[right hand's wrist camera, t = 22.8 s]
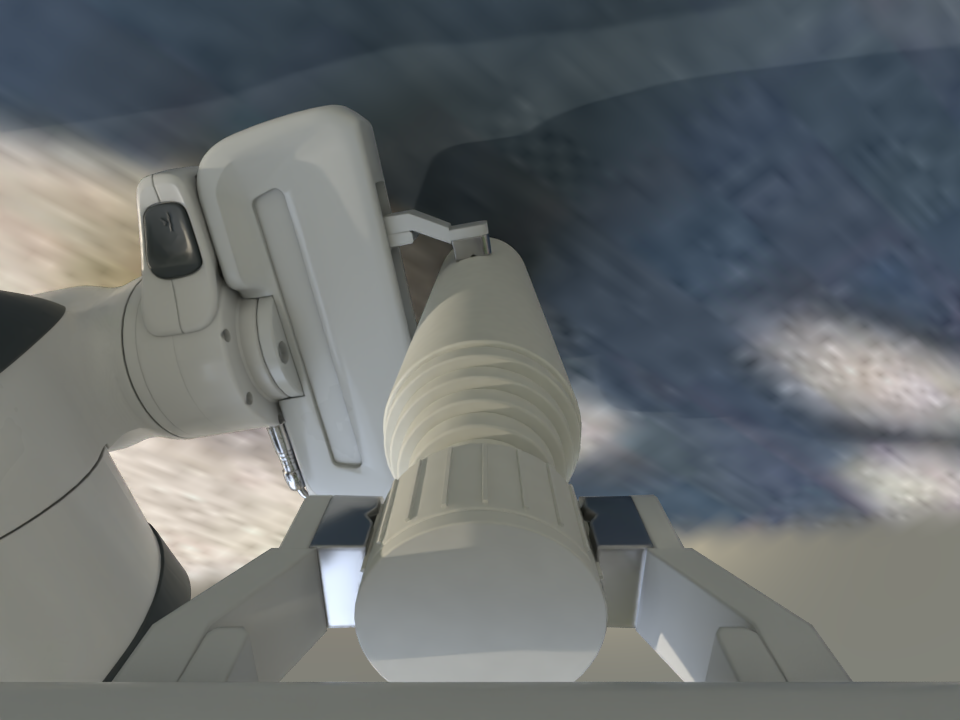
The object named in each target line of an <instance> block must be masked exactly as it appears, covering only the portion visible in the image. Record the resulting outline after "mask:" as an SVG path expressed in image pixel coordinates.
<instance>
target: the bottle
mask: <svg viewBox="0 0 960 720" xmlns="http://www.w3.org/2000/svg"><path fill="white" fill-rule="evenodd" d="M490 244H491V251H492V253H491V254H489V255H486V256H476V255H472V256H471V257H470V258H467V259H463V260H457V261H456V260H455V255H454V251H453V249H452V250H451V252H450V253H449V254H448V255H447V257H446V258H445V260H444V262H443V264H442V266H441V269H440V271H439V274H438V276H437V279H436V281H435V284H434V286H433V289H432V291H431V294H430V296H429V299H428V301H427V304H426V306H425V309H424V311H423V314H422V316H421V318H420V321H419V323H418V326H417V328H416V331H415V333H414V336H413V338H412V341H411V343H410V346H409V348H408V351H407V353H406V356H405V358H404V361H403V363H402V366H401V368H400V371H399V373H398V376H397V378H396V381H395V383H394V386H393V388H392V391H391V393H390V396H389V398H388V401H387V404H386V408H385V413H384V419H383V433H384V449H385V456H386V459H387V463H388V466H389V468H390V471H391V473H392V475H393V477H394V479H397V480H398V478H399V477H400V476H401V475H402V474H403V473H404V472H405V471H406V470H408V469H409V468H410V467H411V466H413V465H414V464H415V463H416V462H417V460H419V459H423V458H425V457H427V456H429V455H430V454H433V453H435V452H438V451H441V450H443V449H446V448H448V447H451V446H452V447H454V446H458V445H463V444H483V443H488V444H498V445H504V446H508V447H512V448H516V449H521V450H522V451H524V452H527V453H529V454H532V455H533V456H536V457H537V458H539V459H541V460H542V461H544V462H545V463H549V464H551V466H552V468H553V469H554V470H556V471H557V472H558V473H559V474H560V475H561V476H562V477H563V478H564V480H565V481H566V482H567V483H568V482H569V480H570V478H571V476H572V474H573V472H574V470H575V467H576V464H577V461H578V457H579V452H580V439H581V416H580V410H579V407H578V403H577V400H576V397H575V395H574V392H573V389H572V387H571V384H570V382H569V379H568V376H567V374H566V371H565V369H564V366H563V363H562V361H561V358H560V355H559V353H558V350H557V348H556V345H555V342H554V340H553V337H552V335H551V332H550V329H549V327H548V324H547V321H546V319H545V316H544V314H543V311H542V308H541V306H540V303H539V301H538V298H537V295H536V293H535V290H534V288H533V285H532V282H531V280H530V277H529V274H528V272H527V269H526V267H525V264H524V262H523V260H522V258H521V257H520V255H519V254H518V253H517V251H515V250H514V249H513V248H512V247H511V246H510V245H508V244H507V243H505V242H503V241H501V240H498V239H495V238H491V237H490Z"/></svg>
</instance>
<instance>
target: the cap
mask: <svg viewBox="0 0 960 720" xmlns="http://www.w3.org/2000/svg"><path fill="white" fill-rule="evenodd" d="M373 527H374V531H373V535H372V538H371V541H370V545H369V548H368V551H367V555H366V556H365V557H364V560H363V563H362V567H361V570H360V572H363V576H362V580H361V583H360V587H359V590H358V594H357V598H356V602H355V612H354V621H355V629H356V633H357V637H358V640H359V643H360V646H361V648H362V650H363V652H364V654H365V656H366V657H367V659H368V660H369V662H370V663H371V664H372V666H373V667H374V668H375V669H376V670H377V671H378V672H379V674H380V675H381V676H382V677H384V678H385V679H386V680H387V681H388V682H574V681H575V680H577V679H578V678H579V677H580V676H581V675H582V674H583V673H584V672H585V671H586V670H587V669H588V667H589V666H590V665H591V664H592V662H593V661H594V659H595V657H596V656H597V654H598V652H599V650H600V648H601V646H602V644H603V640H604V637H605V633H606V628H607V619H608V615H607V604H606V600H605V596H604V592H603V588H602V585H601V581H600V579H604V578H603V574H602V571H601V567H600V564H599V562H596V560H595V556H594V553H593V550H592V546H591V543H590V540H589V525H588V522H586V521H584V519H583V515H582V512H581V509H580V505H579V503H578V501H577V498H576V496H575V492H574V489H573V486H572V485H571V484H570V485H569V484H568V483H567V482H566V481H565V480H564V478H563V477H562V476H561V475H560V474H559V473H558V472H557V471H556V470H554V469H553V468H552V466H551V464H549V463H545V462H544V461H542V460H541V459H539V458H537V457H536V456H533V455H532V454H529V453H527V452H524V451H522V450H521V449H516V448H512V447H508V446H504V445H498V444H488V443H483V444H463V445H458V446H454V447H452V446H451V447H448V448H446V449H443V450H441V451H438V452H435V453H433V454H430V455H429V456H427V457H425V458H423V459H419V460H417V462H416V463H415V464H414V465H413V466H411V467H410V468H409V469H408V470H406V471H405V472H404V473H403V474H402V475H401V476H400V477H399V478H398V480H397V479H395V480H394V481H393V484H392V488H391V489H390V491H389V493H388V494H387V496H386V499H385V501H384V504H381V506H380V510H379V514H378V515H377V516H376V519H375V523H374V526H373Z"/></svg>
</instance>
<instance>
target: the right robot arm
mask: <svg viewBox="0 0 960 720" xmlns="http://www.w3.org/2000/svg"><path fill="white" fill-rule="evenodd" d="M578 503H579V505H580V509H581V512H582V515H583V519H584V521H586V522H588V525H589V540H590V543H591V546H592V550H593V553H594V556H595V560H596V562H599V564H600V567H601V571H602V574H603V578H604V579H600V581H601V585H602V588H603V592H604V596H605V600H606V604H607V615H608V619H607V627H620V628H636V631H637V632H638V633H639V634H640V635H641V636H642V637H643V639H644V640H645V641H646V642H647V643H648V644H649V645H650V646H651V647H652V648H653V649H654V650H655V651H656V652H657V653H658V654H659V656H660V657H661V658H662V659H663V660H664V661H665V662H666V663H667V664H668V665H669V666H670V667H671V668H672V669H673V670H674V671H675V673H676V674H677V675H678V676H679V677H680V678H681V679H682V680H683V681H684V682H280V680H281V679H282V678H283V677H284V676H285V675H286V674H287V673H288V672H289V671H290V670H291V669H292V668H293V667H294V665H295V664H296V663H297V662H298V661H299V660H300V659H301V658H302V657H303V656H304V655H305V654H306V653H307V652H308V651H309V650H310V648H311V647H312V646H313V645H314V644H315V643H316V642H317V641H318V640H319V639H320V638H321V637H322V636H323V635H324V634H325V632H326V631H327V628H341V627H355V621H354V612H355V602H356V598H357V594H358V590H359V587H360V583H361V580H362V576H363V572H360V570H361V567H362V563H363V560H364V557H365V556H366V555H367V551H368V548H369V545H370V541H371V538H372V535H373V531H374V527H373V526H374V523H375V519H376V516H377V515H378V514H379V510H380V506H381V504H384V498H383V496H351V495H334V496H333V495H309V496H308V497H306V498H305V499H304V501H303V503H302V505H301V507H300V509H299V511H298V513H297V514H296V516H295V518H294V520H293V522H292V524H291V526H290V528H289V530H288V532H287V533H286V535H285V537H284V539H283V541H282V543H281V545H280V547H279V548H271V549H269V550H268V551H266V552H265V553H263V554H262V555H260V556H258V557H257V558H255V559H254V560H252V561H251V562H249V563H248V564H246V565H244V566H243V567H241V568H240V569H238V570H237V571H235V572H233V573H232V574H230V575H229V576H227V577H226V578H224V579H223V580H221V581H219V582H218V583H216V584H215V585H213V586H212V587H210V588H209V589H207V590H205V591H204V592H202V593H201V594H199V595H198V596H196V597H195V598H193V599H191V600H190V601H188V602H187V603H185V604H184V605H182V606H180V607H179V608H177V609H176V610H174V611H173V612H171V613H170V614H168V615H166V616H165V617H163V618H162V619H160V620H159V621H157V622H156V623H154V624H152V626H151V627H150V629H149V630H148V631H147V633H146V634H145V636H144V637H143V638H142V640H141V641H140V643H139V644H138V645H137V647H136V648H135V650H134V651H133V652H132V654H131V655H130V657H129V658H128V659H127V661H126V662H125V664H124V665H123V666H122V668H121V669H120V671H119V672H118V673H117V675H116V676H115V678H114V679H113V680H112V682H0V720H960V682H853V681H852V680H851V679H850V677H849V676H848V675H847V673H846V672H845V670H844V669H843V667H842V666H841V665H840V663H839V662H838V660H837V659H836V658H835V656H834V655H833V653H832V652H831V651H830V649H829V648H828V646H827V645H826V644H825V642H824V641H823V639H822V638H821V637H820V635H819V634H818V632H817V631H816V630H815V628H814V627H813V626H812V625H811V624H810V623H808V622H806V621H805V620H803V619H802V618H800V617H799V616H797V615H795V614H794V613H792V612H791V611H789V610H788V609H786V608H784V607H783V606H781V605H780V604H778V603H777V602H775V601H773V600H772V599H770V598H769V597H767V596H766V595H764V594H763V593H761V592H760V591H758V590H756V589H755V588H753V587H752V586H750V585H749V584H747V583H745V582H744V581H742V580H741V579H739V578H738V577H736V576H734V575H733V574H731V573H730V572H728V571H727V570H725V569H724V568H722V567H720V566H719V565H717V564H716V563H714V562H713V561H711V560H709V559H708V558H706V557H705V556H703V555H702V554H700V553H698V552H697V551H695V550H694V549H692V548H684V546H683V545H682V543H681V541H680V539H679V537H678V535H677V534H676V532H675V530H674V528H673V526H672V524H671V522H670V521H669V519H668V517H667V515H666V513H665V511H664V509H663V508H662V506H661V504H660V502H659V500H658V498H657V497H656V496H654V495H629V496H600V497H579V501H578Z"/></svg>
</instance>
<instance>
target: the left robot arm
mask: <svg viewBox="0 0 960 720" xmlns="http://www.w3.org/2000/svg"><path fill="white" fill-rule="evenodd" d="M136 198H137V212H138V222H139V234H140V247H141V267H142V276H141V277H139V278H137V279H135V280H133V281H131V282H129V283H128V284H126V285H124V286H121V287H116V288H107V287H99V286H77V287H70V288H65V289H59V290H54V291H49V292H44V293H40V294H35V295H31V296H30V295H24V294H19V293H13V292H7V291H2V290H0V682H112V680H113V679H114V678H115V676H116V675H117V673H118V672H119V671H120V669H121V668H122V666H123V665H124V664H125V662H126V661H127V659H128V658H129V657H130V655H131V654H132V652H133V651H134V650H135V648H136V647H137V645H138V644H139V643H140V641H141V640H142V638H143V637H144V636H145V634H146V633H147V631H148V630H149V629H150V627H151V626H152V624H154V623H156V622H157V621H159V620H160V619H162V618H163V617H165V616H166V615H168V614H170V613H171V612H173V611H174V610H176V609H177V608H179V607H180V606H182V605H184V604H185V603H187V602H188V601H190V600H191V586H190V581H189V578H188V575H187V573H186V571H185V570H184V568H183V567H182V566H181V564H180V563H179V562H178V560H177V559H176V558H175V556H174V555H173V553H172V552H171V551H170V549H169V548H168V547H167V545H166V544H165V542H164V541H163V539H162V538H161V537H160V535H159V534H158V532H157V531H156V530H155V529H154V528H153V526H152V525H151V524H149V523H148V522H147V520H146V518H145V517H144V515H143V513H142V511H141V509H140V508H139V506H138V504H137V502H136V501H135V499H134V497H133V495H132V493H131V492H130V490H129V488H128V486H127V484H126V483H125V481H124V479H123V477H122V476H121V474H120V472H119V470H118V468H117V467H116V465H115V463H114V461H113V459H112V458H111V456H110V454H109V452H111V451H116V450H120V449H124V448H127V447H130V446H132V445H134V444H137V443H139V442H141V441H143V440H145V439H148V438H152V437H163V438H169V439H194V438H201V437H207V436H214V435H220V434H227V433H233V432H239V431H245V430H251V429H258V428H265V427H266V428H267V431H268V434H269V436H270V439H271V442H272V445H273V447H274V449H275V452H276V453H277V455H278V457H279V459H280V461H281V464H282V467H283V475H284V478H285V481H286V483H287V485H288V486H289V488H290V489H291V490H292V491H298V493H299V494H300V495H301V496H302V497H303V498H304V499H305V498H306V497H308V496H309V495H333V496H334V495H351V496H383V498H384V501H385V499H386V496H387V494H388V493H389V491H390V489H391V488H392V484H393V481H394V480H395V479H394V477H393V475H392V473H391V471H390V468H389V466H388V463H387V459H386V456H385V449H384V433H383V419H384V413H385V408H386V404H387V401H388V398H389V396H390V393H391V391H392V388H393V386H394V383H395V381H396V378H397V376H398V373H399V371H400V368H401V366H402V363H403V361H404V358H405V356H406V353H407V351H408V348H409V346H410V343H411V341H412V338H413V336H414V333H415V331H416V328H417V323H416V319H415V314H414V310H413V305H412V301H411V296H410V292H409V287H408V283H407V279H406V274H405V270H404V265H403V261H402V256H401V252H400V247H399V246H402V245H407V244H412V243H413V242H414V240H415V239H416V238H417V237H418V233H421V234H424V235H427V236H430V237H433V238H435V239H438V240H441V241H444V242H447V243H450V244H452V246H453V251H454V255H455V260H456V261H457V260H463V259H467V258H470V257H471V256H472V255H476V256H486V255H489V254H491V253H492V251H491V244H490V237H489V231H488V225H487V221H476V222H471V223H465V224H459V225H453V226H451V223H448V222H446V221H443V220H441V219H438V218H435V217H433V216H430V215H427V214H425V213H422V212H419V211H417V210H414V209H412V210H407V211H401V212H396V213H392V212H391V207H390V203H389V198H388V194H387V189H386V185H385V180H384V176H383V171H382V167H381V163H380V158H379V154H378V149H377V145H376V140H375V136H374V131H373V128H372V125H371V124H370V122H369V121H368V120H366V119H365V118H364V117H362V116H361V115H359V114H358V113H357V112H355V111H353V110H352V109H350V108H348V107H345V106H341V105H327V106H321V107H316V108H311V109H307V110H303V111H299V112H295V113H292V114H288V115H285V116H282V117H278V118H275V119H272V120H269V121H266V122H263V123H260V124H258V125H255V126H252V127H250V128H247V129H245V130H242V131H240V132H237V133H235V134H233V135H230V136H228V137H226V138H224V139H223V140H221V141H219V142H218V143H217V144H215V145H214V146H213V147H212V148H211V149H210V150H209V151H208V152H207V153H206V154H205V155H204V157H203V159H202V161H201V163H200V165H199V166H192V167H182V168H175V169H170V170H166V171H162V172H158V173H155V174H152V175H149V176H146V177H145V178H143V179H142V180H141V181H140V182H139V184H138V187H137V196H136ZM305 486H306V488H307V491H308V492H307V491H306V490H305V488H304V487H305Z"/></svg>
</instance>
